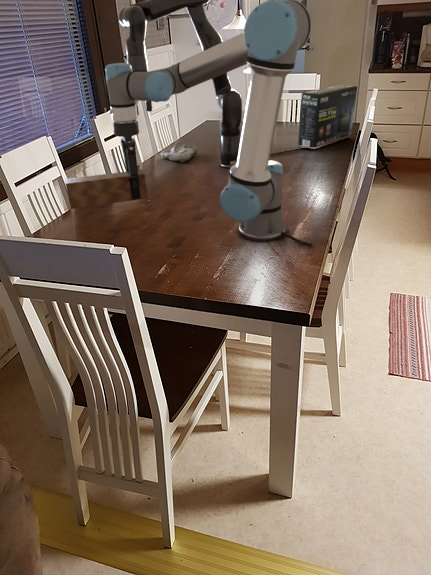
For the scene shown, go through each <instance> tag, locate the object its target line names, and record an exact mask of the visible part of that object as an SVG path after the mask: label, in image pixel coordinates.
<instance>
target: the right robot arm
mask: <svg viewBox="0 0 431 575" xmlns="http://www.w3.org/2000/svg"><path fill="white" fill-rule="evenodd" d="M312 29H313V20H312V16H311V13H310V11H309V10H308V8H307V7H306V6H305V5H304V4H303V3H301V2H300V1H297V0H266V1H264V2H261V3H260V4H258V5H257V6H256V7H254V9H252V11H251V12H250V13H249V14H248V17H247V19H246V21H245V24H244V29H243V32H241V33H239V34H237V35H235V36H232V37H231V38H228V39H226V40H224V41H222V43H220V44H218V45H215V46H213V47H211V48H209V49H207V50H205V51H203V52H202V51H201V52H199V53H197V54H194V55H192V56H190V57H188V58H186V59H184V60H181V61H179V62H177V63H175V64H173V65H170V66H167V67H165V68H160V69H155V70H150V71H148V72H134V71H133V70H132V67H131V65H130V64H129V63H127V62H117V63H109V64H107V65H106V66H105V69H104V71H105V83H106V88H107V94H108V97H109V107H110V110H109V111H108V114H110V115H111V121H113V122H112V129H113V134H114V136H116V137H119V138H120V145H121V148H122V155H123V158H124V169H125V172H127V171H129V176H130V177H129V178H127V179H128V180H129V181H130V188H131V196H132V199H139V198H141V197H140V189H139V181H138V178H139V175H138V170H139V169H138V160H137V150H136V141H135V139H134V138H133V136H137V135H139V134H140V128H139V121H138V116H139V115H138V116H137V108H136V100H139V101H138V102H142V101H143V102H146V101H152V102H154V103H159V102H167V101H169V100H170V98H171V97H172V96H173V95H177V94H178V95H179V94H182V93H184V92H185V91H187V90H190V89H191V88H193V87H196V86H198V85H201V84H202V83H205V82H207V81H210V80H212V78H215V77H217V76H220V75H222V74H224V73H229V72H231V71H233V70H236V69H239V68H241V67H243V66H245V65H248V67H249V69H250V76H249V83H248V90H247V96H246V102H245V107H244V115H243V121H242V127H241V132H240V145H239V152H238V158H237V163H236V164H235V165H234V166H232V167H231V168H229V174H228V181H227V185H226V186H225V187H224V188H223V190H222V191H221V192H220V197H219V203H220V206H221V207H220V208H221V209H222V211H223V212H224V213H225V215H226V216H227V217H228V218H230V219H231V220H233V221H235V222H239V225H238V232H239V235H240V236H241V237H242V238H244V239H247V240H250V241H254V242H271V241H277V240H279V239H281V238H283V237H287V238H288V239H290V240H292V241H294V242H296V243H298V244H301V245H304V246H308V247H312V246H313V243H312V242H307V241H304V240H301V239H298V238H296V237H294V236H293V235H291V234H289V233H287V223H286V221H285V216H284V214H283V210H282V200H283V181H284V180H283V179H284V168H283V167H284V166H283V164H282V163H281V162H279V161H276V160H270V158H271V155H270V153H272V148H273V143H274V137H275V132H276V127H277V123H278V117H279V113H280V107H281V102H282V97H283V93H284V88H285V82H286V77H287V76H288V75H289V74H290V73H291V72H293V71H294V69H295V64H296V61H297V55H298V52H299V51H301V49H302V48H304V46H305V45H306V44H307V43H308V41H309V39H310V37H311V35H312V31H313V30H312Z"/></svg>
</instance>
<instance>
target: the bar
mask: <svg viewBox="0 0 431 575" xmlns="http://www.w3.org/2000/svg"><path fill="white" fill-rule="evenodd" d="M138 175H139V178H138V181H139V189H140V197H141V198H139V199H132V196H131V188H130V181H129V180H128V179H127V178H129V177H130V176H129V171H127V172H126V171H120V172H112V173H104V174H96V175H88V176H79V177H71V178H65V179H64V180H65V181H64V182H65V187H66V192H67V197H68V202H69V207H70V209H71V210H74V209H81V208H82V209H83V208H88V207H96V206H103V205H109V204H110V205H111V204H118V203H124V202H125V203H126V202H132V201H138V200H139V201H140V200H147V199H148V190H147V189H148V188H147V180H146V174H145V172H144V170H143V169H138Z"/></svg>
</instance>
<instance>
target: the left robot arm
mask: <svg viewBox="0 0 431 575" xmlns="http://www.w3.org/2000/svg"><path fill="white" fill-rule="evenodd" d="M210 1H211V0H144V1H141V2H137V3H131V4H129V5H126V6H124V7H122V8H121V9H120V10H119V12H118V21H119V23H120V25H121V26H122V27H123V28H125V29H127V30H128V29H129V35H128V36H127V38H125V50H126V51H125V52H126V63H129V64H130V65H131V67H132V70H133V71H134V72H149V65H148V58H147V53H146V45H145V44H146V43H145V42H146V41H145V39H146V32H147V23H151V22H155V21H158V20H160V19H162V18H163V19H164V18H166V17H167V16H169V15H172V14H174V13H176V12H178V11H180V10H183V9H185V8H186V11H187V13H188V15H189V18H190V21H191V23H192V25H193V28H194V31H195V34H196V38H197V40H198V44H199V46H200V50H201V52H203V51H205V50H207V49H209V48H211V47H213V46H215V45H218V44H220V43H222V42H223V39H222V36H221V35H220V33H219V32H218V30H217V29H216V27H214V25H213V24H212V22H211V21H210V19H209V18H208V15H207V13H206V10H205V7H204V6H205V5H206V4H208V3H209V2H210ZM228 73H229V72H227V73H224V74H222V75H220V76H217V77H215V78H212V79H211V82H212V85H213V88H214V94H215V99H216V102H217V105H218V107H219V108H220V109H221V120H220V121H219V141H220V142H219V145H220V146H219V147H220V167H221V168H225V169H231V167H232V166H234V165H235V164H236V163H237V158H238V152H239V145H240V139H241V123H242V119H243V100H242V96H241V93H239V92H238V91H237V90H235V89H234V88H233V86H232V84H231V81H230V78H229V74H228ZM139 102H140V101H139V100H136V108H137V116H139V115H140V112H139V105H138V104H139ZM145 107H146V111H147V112H153V101H145ZM299 148H300V147H299ZM295 149H296V148H295ZM289 150H290V151H286V150H283V151H284V152H281V151H277V152H278V153H276V152H272V153H273V154H270V156H274V155H280V154H286V153H290V152H291V153H292V152H296V151H301V150H302V149H301V148H300V149H296V150H292V151H291V149H289Z"/></svg>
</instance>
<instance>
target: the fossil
mask: <svg viewBox="0 0 431 575" xmlns="http://www.w3.org/2000/svg"><path fill="white" fill-rule="evenodd" d="M198 153H199V150H198V148H197V146H195V145H188V146H187V145H186V143H184V142H183V143H181V142H176V143H175V145H174V146H173V147H172V148H171V149H170V150H168V149H165V150H162V151H161V152H160V156H161V158H162V159H163V160H169V161H174V162H177V161H179V162H180V163H185V162H187V161H188V160H190V159H191V158H192V157H193V156H194V155H197V154H198Z"/></svg>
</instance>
